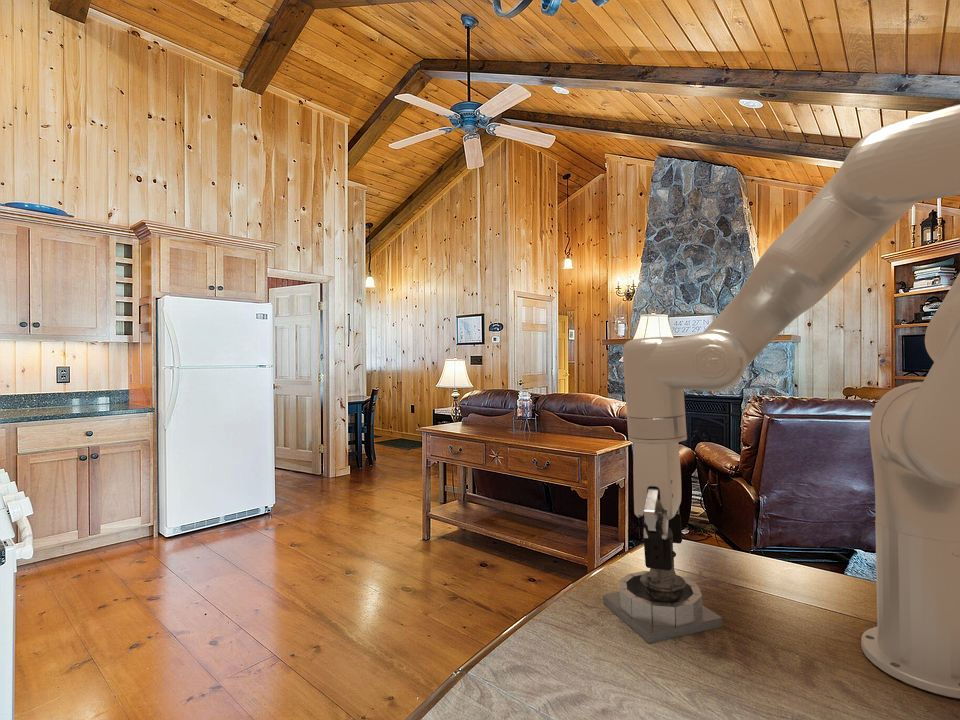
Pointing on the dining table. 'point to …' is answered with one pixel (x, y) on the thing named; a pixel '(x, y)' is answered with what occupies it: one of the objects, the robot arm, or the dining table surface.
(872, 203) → the robot arm
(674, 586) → the salt shaker
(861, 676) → the dining table surface
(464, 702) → the dining table surface
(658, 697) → the dining table surface
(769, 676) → the dining table surface
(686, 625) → the hub plate
